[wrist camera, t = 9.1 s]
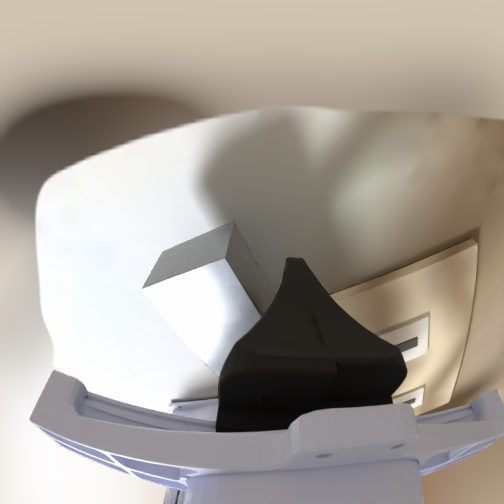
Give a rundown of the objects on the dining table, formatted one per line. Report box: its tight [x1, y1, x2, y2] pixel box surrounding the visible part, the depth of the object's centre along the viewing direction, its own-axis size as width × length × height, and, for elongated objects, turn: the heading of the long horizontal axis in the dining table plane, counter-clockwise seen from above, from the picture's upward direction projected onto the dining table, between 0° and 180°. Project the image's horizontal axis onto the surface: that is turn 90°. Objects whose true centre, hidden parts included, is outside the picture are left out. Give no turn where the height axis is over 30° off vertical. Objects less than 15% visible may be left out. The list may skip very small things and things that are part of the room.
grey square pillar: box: [142, 221, 275, 377], centre depth 16 cm, size 17×4×4 cm, turn 25°
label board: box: [330, 238, 478, 416], centre depth 22 cm, size 17×26×1 cm, turn 25°
